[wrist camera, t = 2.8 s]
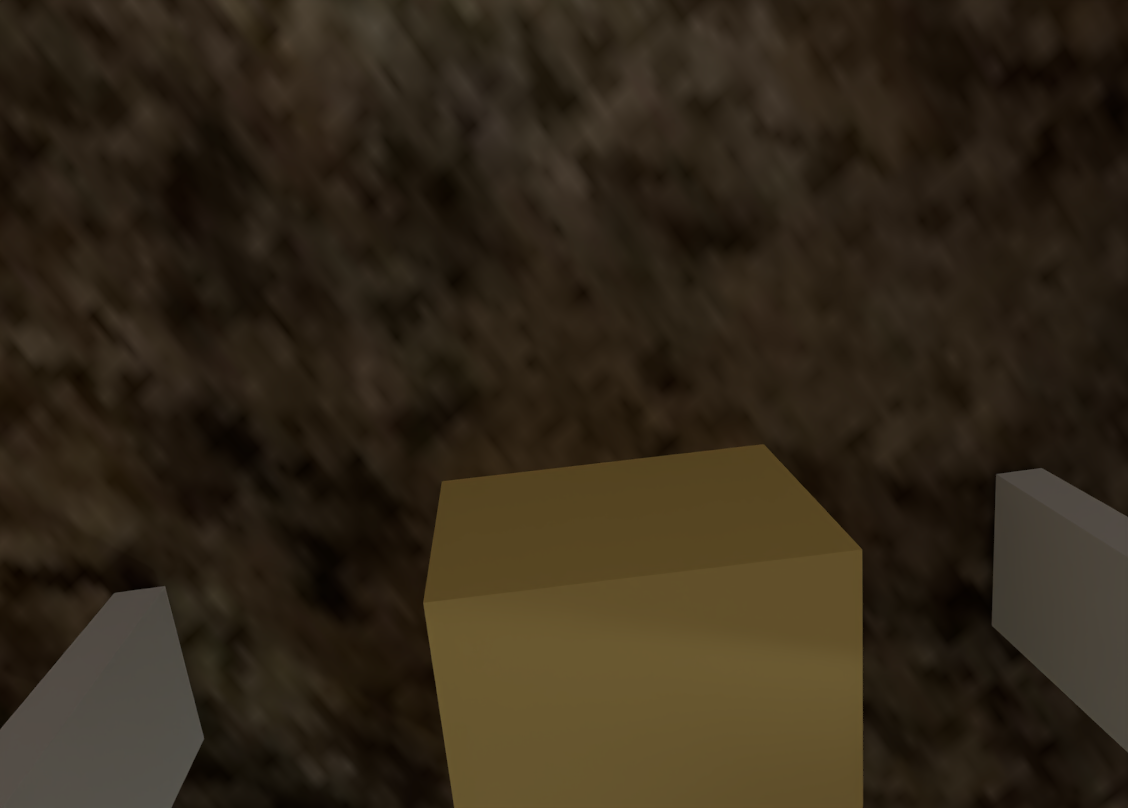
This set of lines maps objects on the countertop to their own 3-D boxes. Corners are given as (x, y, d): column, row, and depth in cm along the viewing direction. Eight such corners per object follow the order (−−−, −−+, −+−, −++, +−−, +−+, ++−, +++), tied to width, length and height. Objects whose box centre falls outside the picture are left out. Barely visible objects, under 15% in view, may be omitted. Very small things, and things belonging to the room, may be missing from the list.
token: (761, 441, 14) (862, 549, 10) (770, 717, 15) (863, 903, 12) (442, 478, 14) (422, 603, 10) (481, 754, 15) (477, 957, 11)
